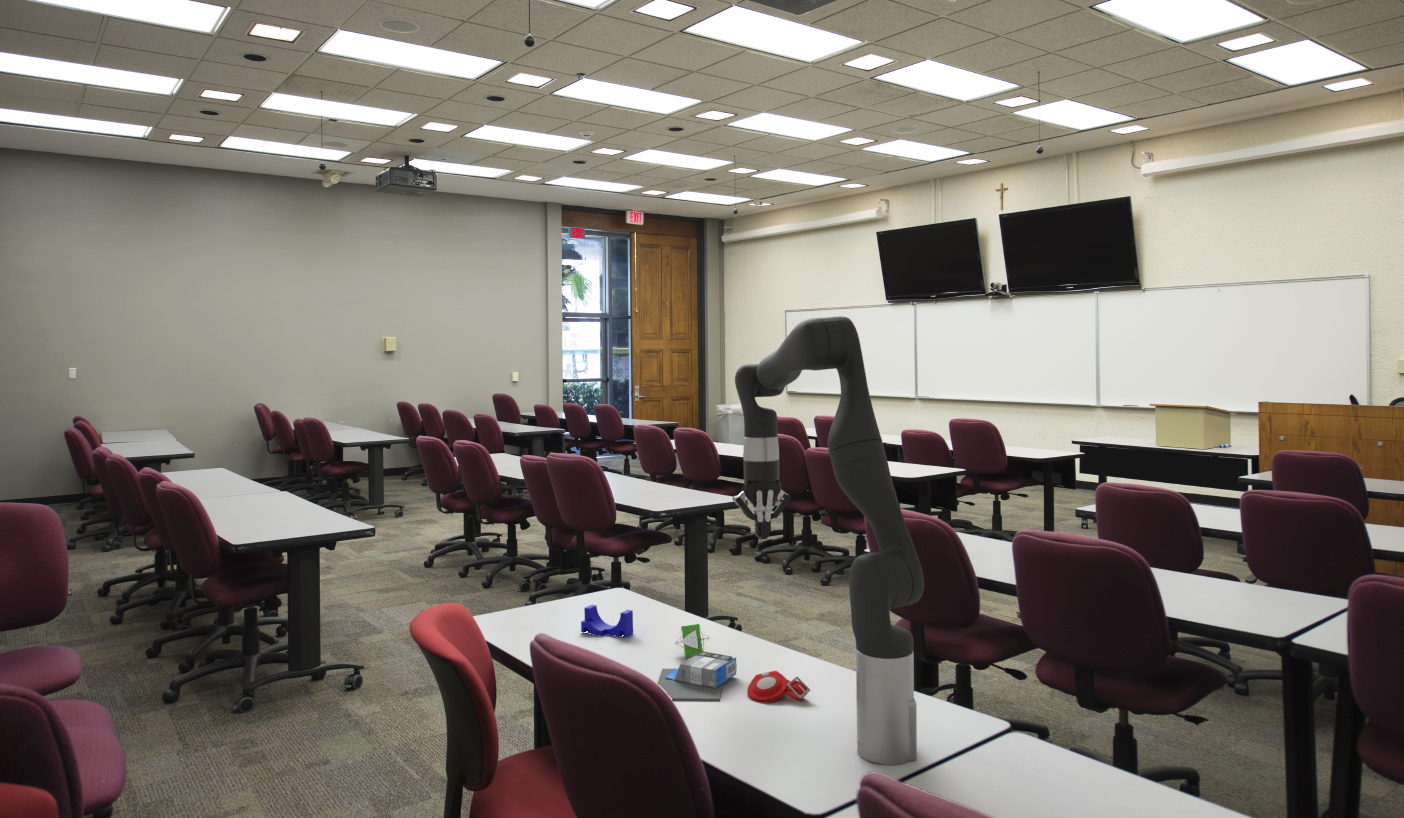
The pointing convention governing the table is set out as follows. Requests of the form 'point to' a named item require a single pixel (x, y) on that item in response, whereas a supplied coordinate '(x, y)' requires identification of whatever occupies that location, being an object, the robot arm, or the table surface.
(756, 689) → the tracker holder
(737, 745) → the table surface
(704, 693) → the mat
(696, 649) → the geometric puzzle
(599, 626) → the blue cradle support
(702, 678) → the label tape box
